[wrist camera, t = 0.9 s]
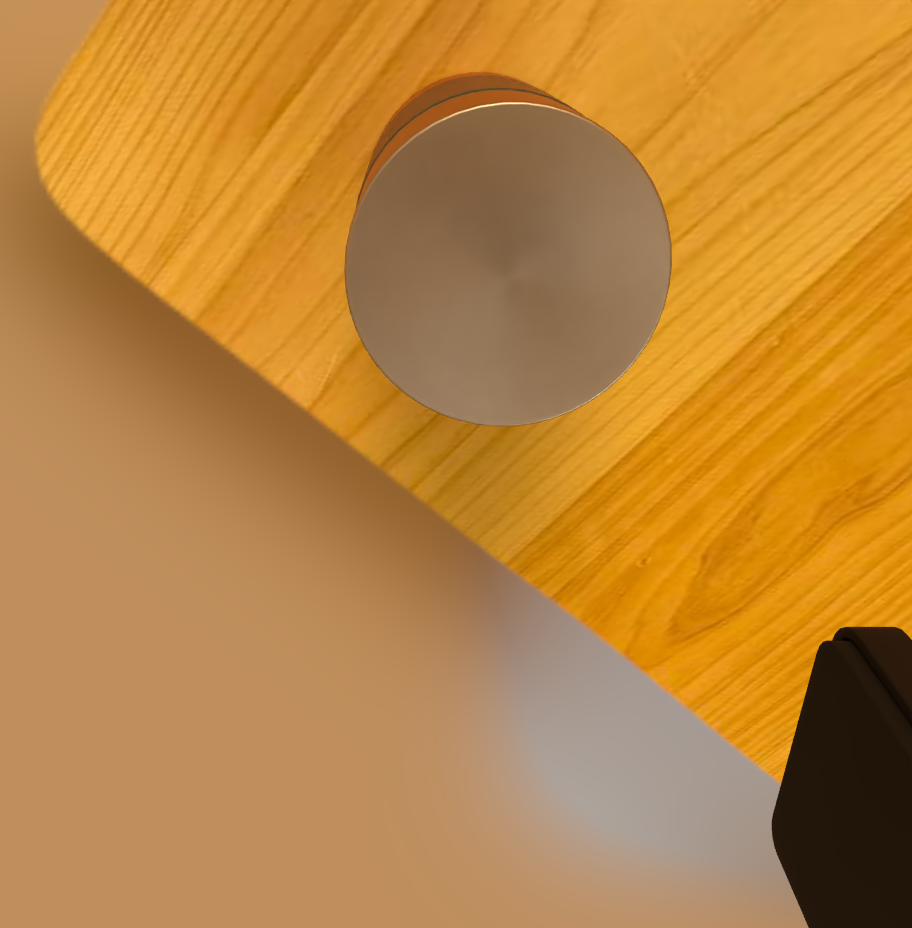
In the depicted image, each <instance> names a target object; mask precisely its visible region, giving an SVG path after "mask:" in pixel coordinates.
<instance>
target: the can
mask: <svg viewBox="0 0 912 928" xmlns="http://www.w3.org/2000/svg"><path fill="white" fill-rule="evenodd" d="M671 267H672V252H671V238H670V232H669V225H668V220H667V217H666V214H665V210H664V207H663V204H662V201H661V199H660V196H659V194H658V192H657V190H656V188H655V185H654V183H653V181H652V180H651V178H650V177H649V175H648V173H647V172H646V170H645V169H644V167H643V166H642V164H641V163H640V162H639V160H638V159H637V158H636V157H635V156H634V155H633V153H632V152H631V151H630V150H629V149H628V148H627V147H626V146H625V145H624V144H623V143H622V142H621V141H620V140H618V139H617V138H616V137H615V136H614V135H613V134H611V133H610V132H609V131H607V130H606V129H604V128H603V127H601V126H600V125H598V124H596V123H595V122H593V121H592V120H590V119H588V118H587V117H585V116H584V115H582V114H581V113H579V112H578V111H576V110H575V109H573V108H572V107H570V106H568V105H567V104H565V103H563V102H561V101H560V100H558V99H556V98H554V97H553V96H551V95H549V94H547V93H545V92H544V91H542V90H540V89H538V88H536V87H534V86H531V85H529V84H527V83H525V82H522V81H520V80H517V79H515V78H511V77H508V76H505V75H501V74H494V73H466V74H459V75H454V76H451V77H448V78H444V79H441V80H439V81H437V82H435V83H433V84H431V85H428V86H427V87H425V88H424V89H422V90H420V91H419V92H417V93H416V94H414V95H413V96H412V97H411V98H410V99H409V100H407V101H406V102H405V103H404V104H403V105H402V106H401V107H400V108H399V109H398V111H397V112H396V113H395V114H394V115H393V117H392V118H391V119H390V121H389V122H388V124H387V125H386V127H385V128H384V130H383V132H382V134H381V136H380V138H379V140H378V143H377V145H376V147H375V149H374V152H373V154H372V157H371V160H370V163H369V166H368V169H367V172H366V175H365V178H364V181H363V184H362V187H361V190H360V193H359V196H358V201H357V205H356V210H355V213H354V216H353V220H352V223H351V226H350V230H349V235H348V240H347V245H346V254H345V269H344V270H345V286H346V294H347V299H348V304H349V309H350V313H351V316H352V319H353V322H354V325H355V328H356V330H357V332H358V334H359V337H360V339H361V341H362V343H363V345H364V347H365V349H366V350H367V352H368V353H369V355H370V356H371V358H372V359H373V361H374V362H375V364H376V365H377V366H378V367H379V369H380V370H381V371H382V372H383V373H384V374H385V375H386V377H387V378H388V379H389V380H390V381H391V382H392V383H393V384H394V385H396V386H397V387H398V388H399V389H400V390H401V391H402V392H404V393H405V394H406V395H408V396H409V397H411V398H412V399H414V400H415V401H417V402H418V403H419V404H421V405H423V406H425V407H427V408H429V409H431V410H433V411H435V412H437V413H439V414H442V415H444V416H447V417H450V418H453V419H456V420H459V421H464V422H468V423H473V424H478V425H488V426H518V425H525V424H533V423H537V422H541V421H545V420H549V419H553V418H556V417H558V416H561V415H563V414H566V413H568V412H571V411H573V410H575V409H577V408H579V407H581V406H583V405H584V404H586V403H588V402H590V401H591V400H593V399H594V398H596V397H597V396H599V395H600V394H602V393H603V392H604V391H606V390H607V389H608V388H609V387H611V386H612V385H613V384H614V383H615V382H616V381H617V380H618V379H620V378H621V377H622V376H623V375H624V373H625V372H626V371H627V370H628V369H629V368H630V367H631V366H632V364H633V363H634V362H635V361H636V360H637V358H638V357H639V355H640V354H641V352H642V351H643V350H644V348H645V347H646V345H647V344H648V342H649V340H650V338H651V336H652V334H653V332H654V330H655V329H656V327H657V325H658V322H659V319H660V317H661V314H662V311H663V309H664V306H665V302H666V298H667V294H668V290H669V285H670V276H671Z"/></svg>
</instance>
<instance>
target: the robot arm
mask: <svg viewBox="0 0 912 928" xmlns="http://www.w3.org/2000/svg"><path fill="white" fill-rule="evenodd" d="M772 835H773V842H774V846H775V849H776V852H777V855H778V857H779V860H780V862H781V864H782V867H783V869H784V871H785V874H786V876H787V878H788V880H789V883H790V885H791V888H792V890H793V892H794V894H795V897H796V899H797V901H798V904H799V906H800V908H801V911H802V913H803V915H804V918H805V920H806V922H807V925H808V927H809V928H912V640H911V639H910V637H909V636H908V635H907V634H906V633H905V632H904V631H903V630H901V629H899V628H896V627H844V628H840V629H839V630H838V631H837V632H836V633H835V635H834V638H833V640H832V641H825V642H823V643H822V644H821V645H820V646H819V649H818V651H817V654H816V658H815V662H814V665H813V669H812V673H811V676H810V680H809V684H808V687H807V691H806V695H805V698H804V702H803V706H802V709H801V713H800V717H799V721H798V724H797V728H796V732H795V735H794V739H793V743H792V746H791V750H790V754H789V757H788V761H787V765H786V768H785V772H784V776H783V779H782V783H781V787H780V791H779V794H778V798H777V802H776V806H775V809H774V813H773V818H772Z"/></svg>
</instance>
